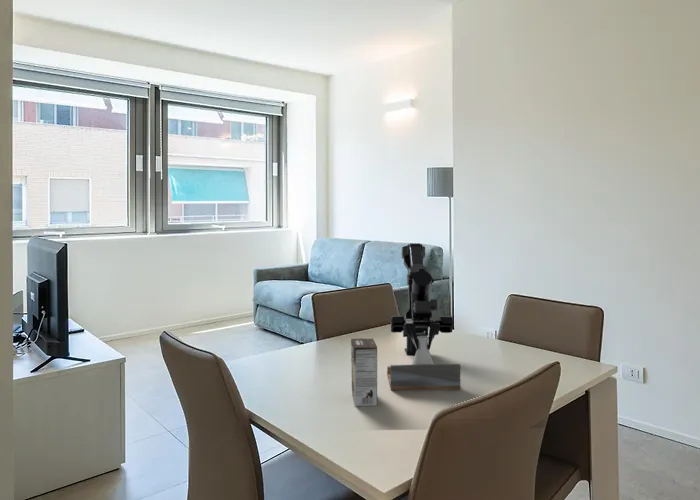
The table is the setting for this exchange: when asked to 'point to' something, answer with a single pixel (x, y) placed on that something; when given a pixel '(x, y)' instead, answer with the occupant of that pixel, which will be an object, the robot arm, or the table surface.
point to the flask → (422, 352)
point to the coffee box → (364, 372)
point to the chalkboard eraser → (424, 377)
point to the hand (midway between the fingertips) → (423, 349)
